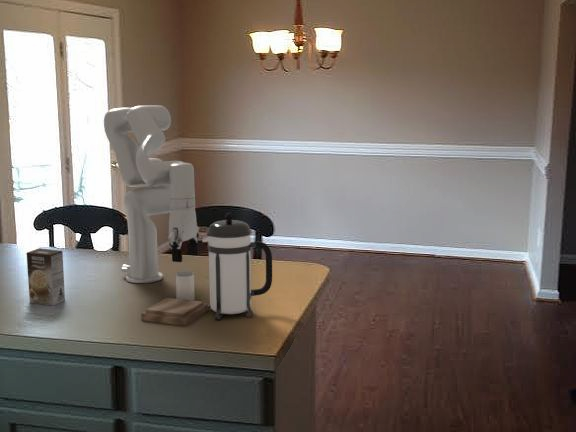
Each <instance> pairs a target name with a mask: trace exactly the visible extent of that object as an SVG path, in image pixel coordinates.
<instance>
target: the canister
mask: <svg viewBox="0 0 576 432" xmlns="http://www.w3.org/2000/svg"><path fill="white" fill-rule="evenodd" d="M175 293H176V294H175V296H176V298H175V299H183V300H192V301H195V274H194V272H193V271H192V270H188V269H181V270H177V272H176V274H175Z"/></svg>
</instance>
